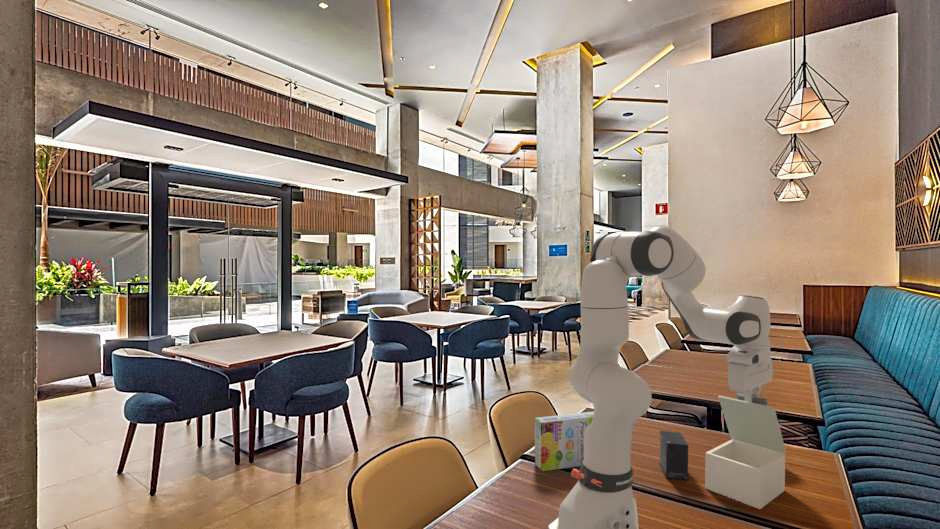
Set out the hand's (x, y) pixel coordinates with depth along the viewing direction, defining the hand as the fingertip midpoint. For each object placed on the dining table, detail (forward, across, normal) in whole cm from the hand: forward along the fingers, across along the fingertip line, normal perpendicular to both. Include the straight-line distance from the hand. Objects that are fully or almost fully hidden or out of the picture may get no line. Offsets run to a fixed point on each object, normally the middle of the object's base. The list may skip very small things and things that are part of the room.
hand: (751, 402), depth 134 cm
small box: (+24, +9, -18) cm, 31 cm away
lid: (+6, 0, 0) cm, 6 cm away
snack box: (+24, +30, -41) cm, 56 cm away
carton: (+24, +4, 0) cm, 24 cm away
